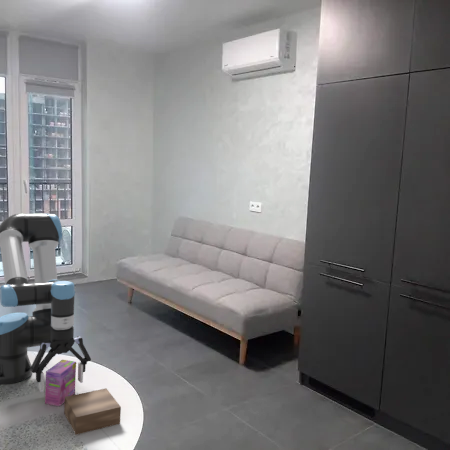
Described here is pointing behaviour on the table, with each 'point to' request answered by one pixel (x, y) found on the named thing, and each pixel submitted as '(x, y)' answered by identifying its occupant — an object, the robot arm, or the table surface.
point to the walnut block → (92, 411)
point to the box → (60, 382)
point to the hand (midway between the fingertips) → (61, 385)
